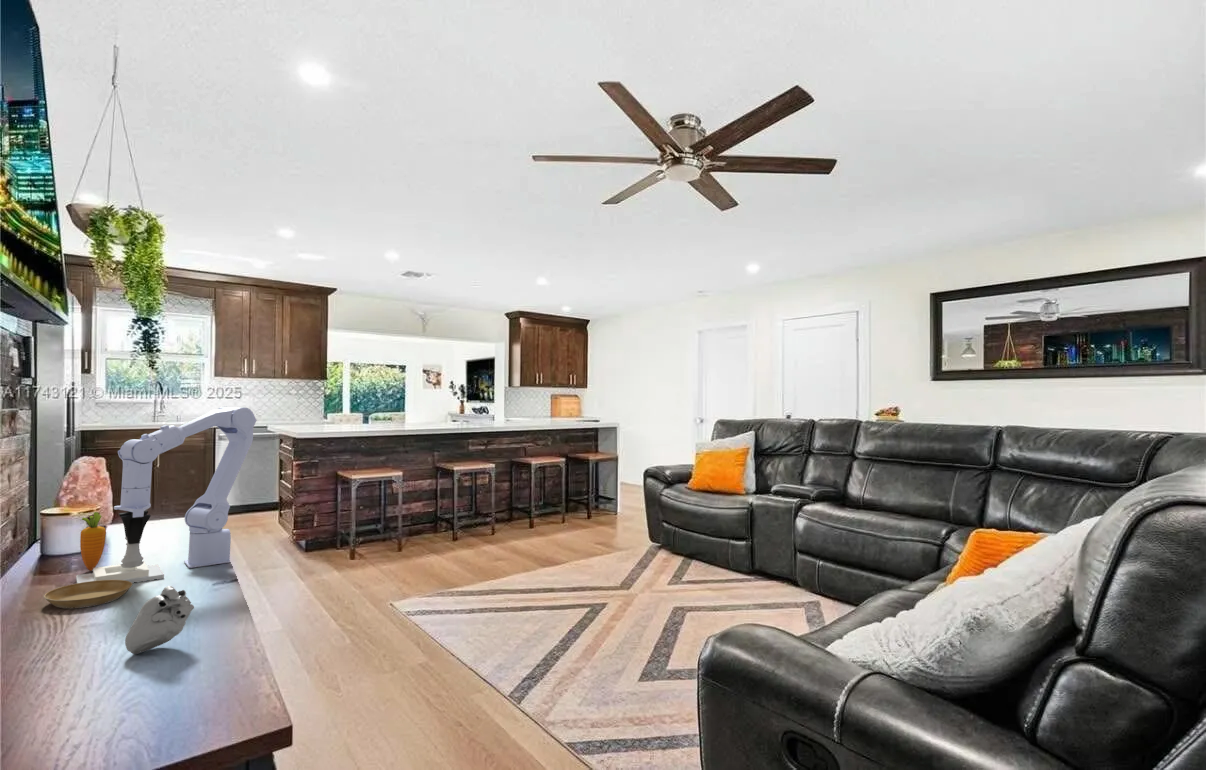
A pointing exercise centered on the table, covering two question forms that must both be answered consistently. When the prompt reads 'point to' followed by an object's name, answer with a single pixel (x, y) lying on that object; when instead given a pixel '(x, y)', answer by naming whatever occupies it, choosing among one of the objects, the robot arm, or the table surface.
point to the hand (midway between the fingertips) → (133, 542)
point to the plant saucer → (87, 593)
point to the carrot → (92, 542)
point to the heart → (159, 620)
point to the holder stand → (123, 573)
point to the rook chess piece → (132, 556)
